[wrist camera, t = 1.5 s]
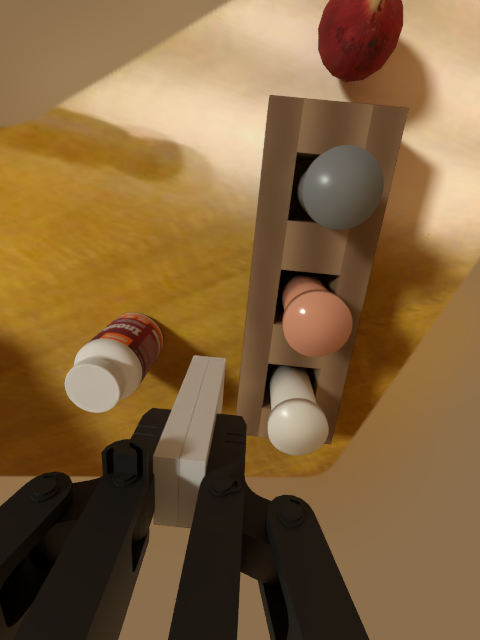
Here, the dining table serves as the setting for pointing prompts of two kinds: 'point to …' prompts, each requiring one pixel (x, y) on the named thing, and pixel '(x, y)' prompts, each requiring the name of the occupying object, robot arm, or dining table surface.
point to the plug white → (295, 412)
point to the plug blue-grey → (341, 187)
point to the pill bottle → (114, 363)
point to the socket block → (309, 245)
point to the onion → (358, 36)
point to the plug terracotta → (314, 317)
